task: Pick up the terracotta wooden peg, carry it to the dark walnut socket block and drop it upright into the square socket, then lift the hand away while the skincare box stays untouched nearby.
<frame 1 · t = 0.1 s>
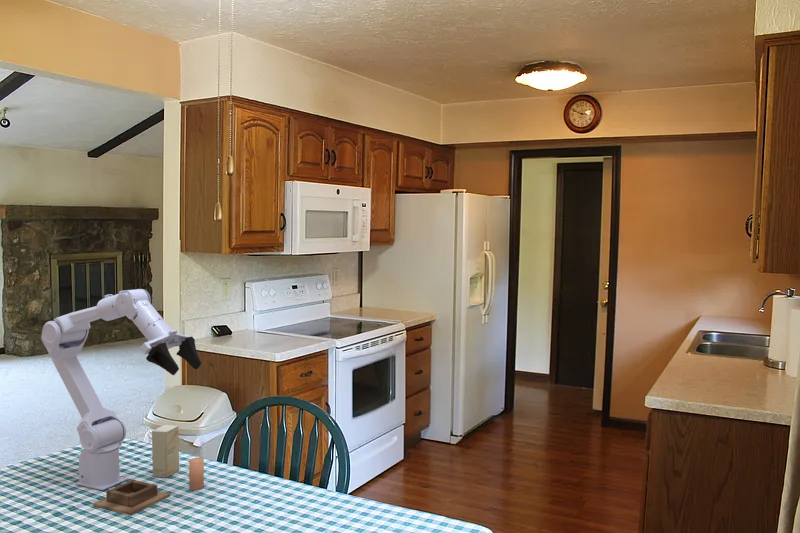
hand: (187, 369, 155), 32 cm above the table, tool tilted 50°, fingers open, 7 cm apart
peg: (196, 487, 166), on the table
holder: (132, 500, 157), on the table
skincare box: (166, 473, 175), on the table
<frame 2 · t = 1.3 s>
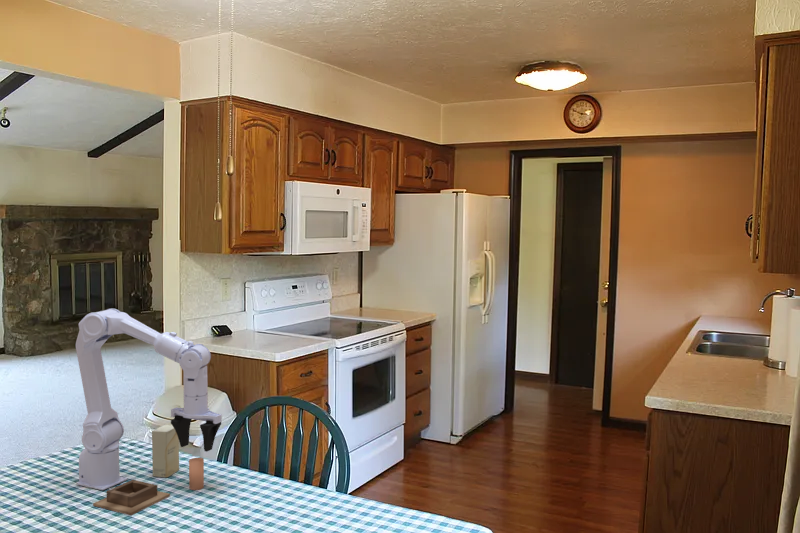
hand: (196, 448, 165), 10 cm above the table, tool pointing down, fingers open, 7 cm apart
nothing on the table moved.
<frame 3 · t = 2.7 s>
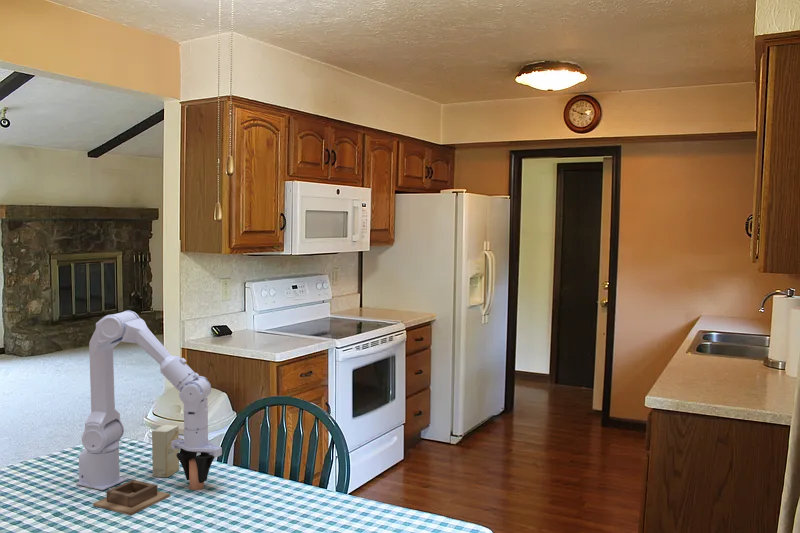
hand: (196, 480, 166), 2 cm above the table, tool pointing down, fingers closed on peg, 3 cm apart
peg: (196, 487, 166), on the table, touching gripper
everything else where it was.
when the fingers open (4 cm above the table, at t = 6.4 s): peg drops 2 cm, resting on holder.
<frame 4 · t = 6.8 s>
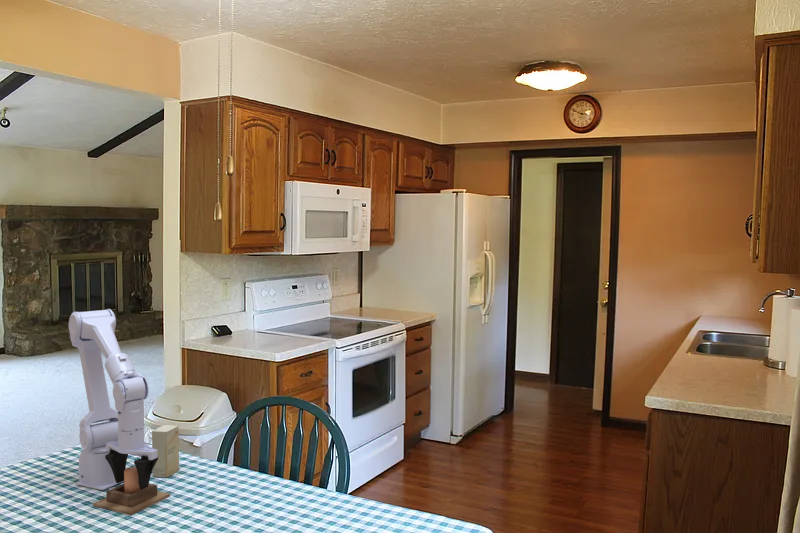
hand: (132, 484, 157), 4 cm above the table, tool pointing down, fingers open, 7 cm apart
peg: (132, 498, 157), point 1 cm above the table, touching holder
everything else where it was.
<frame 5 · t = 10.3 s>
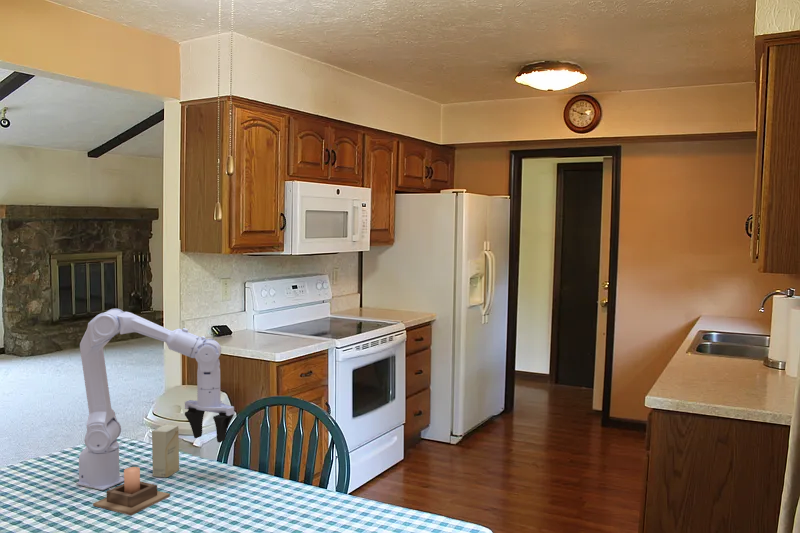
hand: (209, 439, 171), 10 cm above the table, tool pointing down, fingers open, 7 cm apart
nothing on the table moved.
at the end: peg 0.0 cm off-centre on the holder, point 0.6 cm above the holder's base; peg tilted 0°; the gripper is holding nothing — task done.
